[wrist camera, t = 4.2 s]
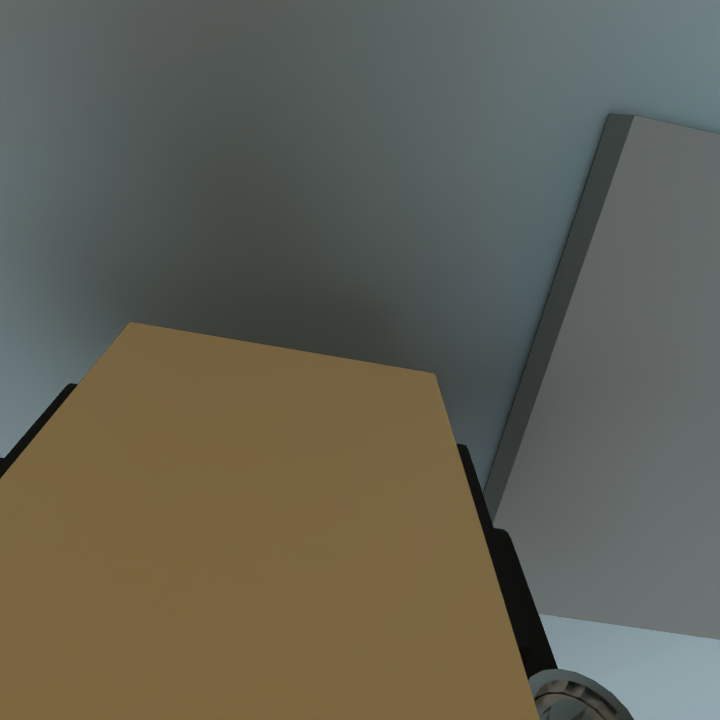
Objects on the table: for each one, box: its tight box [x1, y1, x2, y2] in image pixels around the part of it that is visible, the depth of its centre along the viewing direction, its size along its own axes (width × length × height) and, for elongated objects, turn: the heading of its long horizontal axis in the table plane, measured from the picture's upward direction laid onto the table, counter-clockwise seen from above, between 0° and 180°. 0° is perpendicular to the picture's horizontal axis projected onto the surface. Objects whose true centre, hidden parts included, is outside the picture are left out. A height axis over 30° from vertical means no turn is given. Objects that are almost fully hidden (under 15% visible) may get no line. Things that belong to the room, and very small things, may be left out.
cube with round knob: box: [0, 322, 540, 720], centre depth 7 cm, size 5×5×8 cm
